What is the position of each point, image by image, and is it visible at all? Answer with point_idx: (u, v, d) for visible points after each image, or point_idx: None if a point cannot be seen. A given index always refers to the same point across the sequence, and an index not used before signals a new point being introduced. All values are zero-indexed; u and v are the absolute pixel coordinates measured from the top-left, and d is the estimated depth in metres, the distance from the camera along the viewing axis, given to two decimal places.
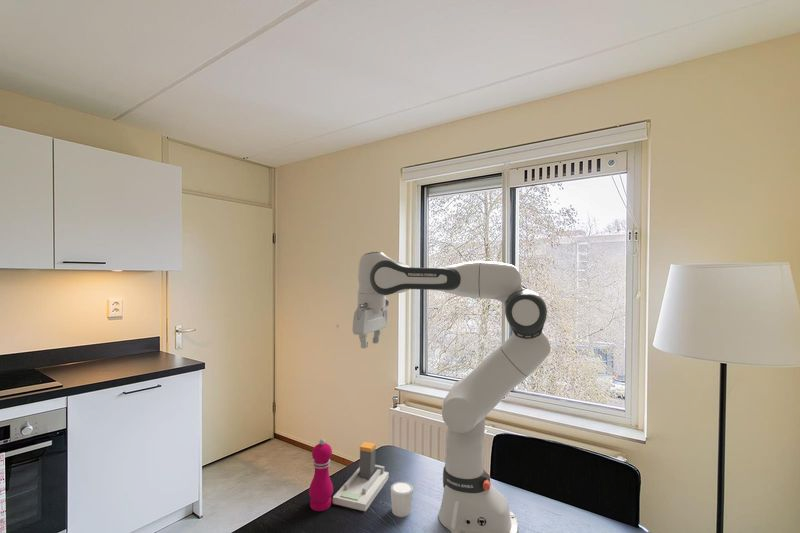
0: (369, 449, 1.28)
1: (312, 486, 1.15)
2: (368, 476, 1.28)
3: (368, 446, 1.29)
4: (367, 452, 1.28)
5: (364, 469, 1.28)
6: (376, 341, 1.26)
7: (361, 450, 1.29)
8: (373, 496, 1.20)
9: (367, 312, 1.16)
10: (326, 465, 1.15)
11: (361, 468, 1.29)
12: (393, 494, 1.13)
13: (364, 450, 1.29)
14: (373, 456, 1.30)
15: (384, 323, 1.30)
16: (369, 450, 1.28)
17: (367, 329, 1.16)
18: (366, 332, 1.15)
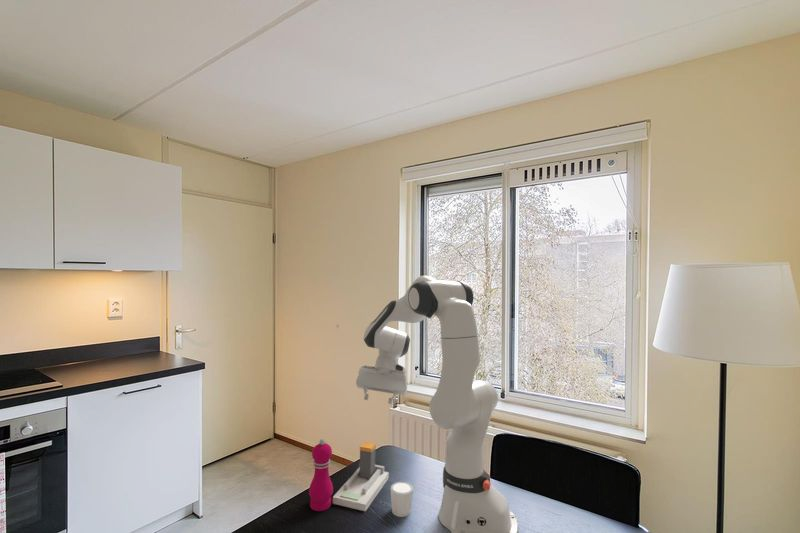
0: (369, 449, 1.28)
1: (312, 486, 1.15)
2: (368, 476, 1.28)
3: (368, 446, 1.29)
4: (367, 452, 1.28)
5: (364, 469, 1.28)
6: None
7: (361, 450, 1.29)
8: (373, 496, 1.20)
9: (366, 369, 1.53)
10: (326, 465, 1.15)
11: (361, 468, 1.29)
12: (393, 494, 1.13)
13: (364, 450, 1.29)
14: (373, 456, 1.30)
15: (400, 387, 1.47)
16: (369, 450, 1.28)
17: (364, 382, 1.49)
18: (362, 383, 1.49)
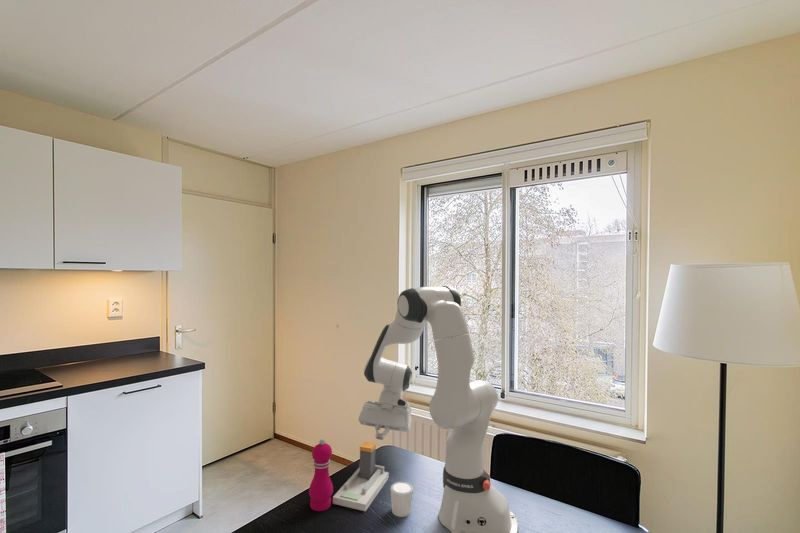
0: (369, 449, 1.28)
1: (312, 486, 1.15)
2: (368, 476, 1.28)
3: (368, 446, 1.29)
4: (367, 452, 1.28)
5: (364, 469, 1.28)
6: None
7: (361, 450, 1.29)
8: (373, 496, 1.20)
9: (369, 405, 1.49)
10: (326, 465, 1.15)
11: (361, 468, 1.29)
12: (393, 494, 1.13)
13: (364, 450, 1.29)
14: (373, 456, 1.30)
15: (402, 423, 1.41)
16: (369, 450, 1.28)
17: (366, 418, 1.45)
18: (364, 420, 1.45)
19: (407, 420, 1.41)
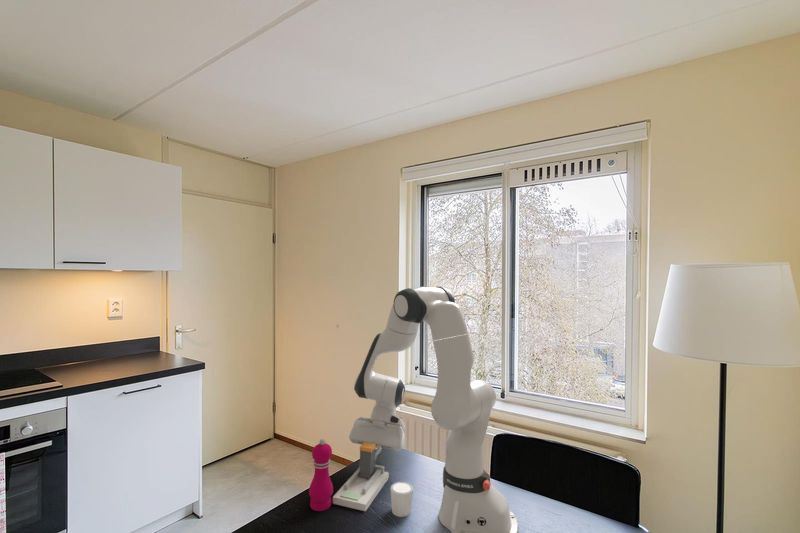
0: (369, 449, 1.28)
1: (312, 486, 1.15)
2: (368, 476, 1.28)
3: (368, 446, 1.29)
4: (367, 452, 1.28)
5: (364, 469, 1.28)
6: None
7: (361, 450, 1.29)
8: (373, 496, 1.20)
9: (360, 421, 1.42)
10: (326, 465, 1.15)
11: (361, 468, 1.29)
12: (393, 494, 1.13)
13: (364, 450, 1.29)
14: (373, 456, 1.30)
15: (395, 441, 1.34)
16: (369, 450, 1.28)
17: (357, 436, 1.38)
18: (355, 438, 1.38)
19: (400, 438, 1.34)
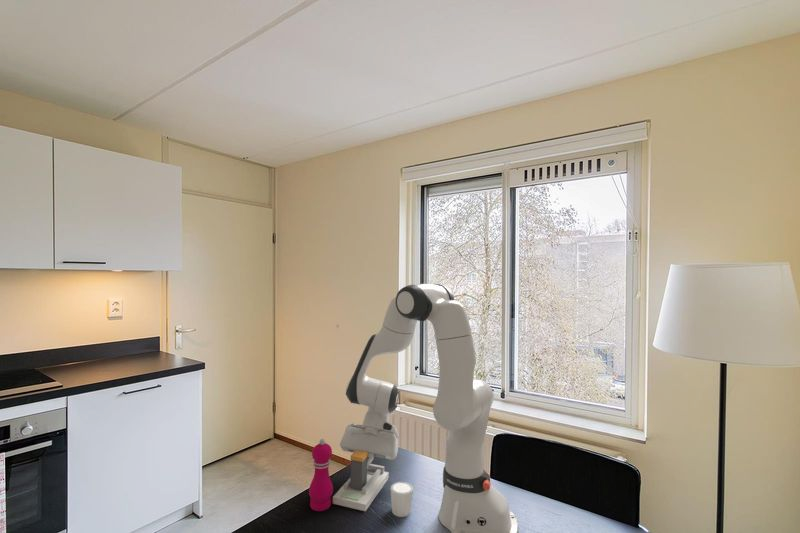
0: (360, 458, 1.21)
1: (312, 486, 1.15)
2: (359, 487, 1.21)
3: (359, 455, 1.23)
4: (358, 462, 1.22)
5: (355, 480, 1.22)
6: None
7: (352, 459, 1.22)
8: (373, 496, 1.20)
9: (352, 428, 1.35)
10: (326, 465, 1.15)
11: (352, 478, 1.22)
12: (393, 494, 1.13)
13: (355, 459, 1.22)
14: (365, 466, 1.23)
15: (387, 450, 1.27)
16: (360, 459, 1.21)
17: (349, 444, 1.31)
18: (346, 446, 1.31)
19: (393, 447, 1.27)
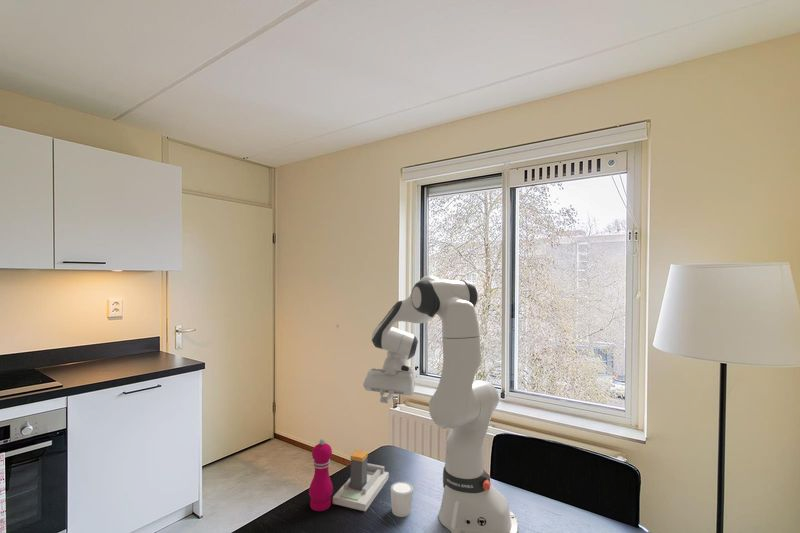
0: (360, 458, 1.21)
1: (312, 486, 1.15)
2: (359, 487, 1.21)
3: (359, 455, 1.23)
4: (358, 462, 1.22)
5: (355, 480, 1.22)
6: None
7: (352, 459, 1.22)
8: (373, 496, 1.20)
9: (373, 371, 1.54)
10: (326, 465, 1.15)
11: (352, 478, 1.22)
12: (393, 494, 1.13)
13: (355, 459, 1.22)
14: (365, 466, 1.23)
15: (405, 387, 1.46)
16: (360, 459, 1.21)
17: (371, 384, 1.50)
18: (368, 385, 1.50)
19: (411, 384, 1.46)
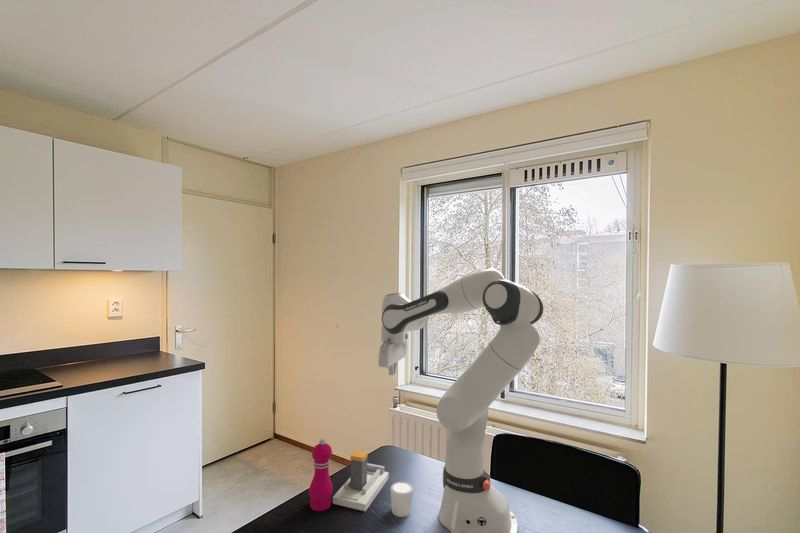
0: (360, 458, 1.21)
1: (312, 486, 1.15)
2: (359, 487, 1.21)
3: (359, 455, 1.23)
4: (358, 462, 1.22)
5: (355, 480, 1.22)
6: None
7: (352, 459, 1.22)
8: (373, 496, 1.20)
9: (390, 347, 1.34)
10: (326, 465, 1.15)
11: (352, 478, 1.22)
12: (393, 494, 1.13)
13: (355, 459, 1.22)
14: (365, 466, 1.23)
15: (403, 353, 1.48)
16: (360, 459, 1.21)
17: (391, 362, 1.35)
18: (390, 364, 1.34)
19: (405, 350, 1.50)
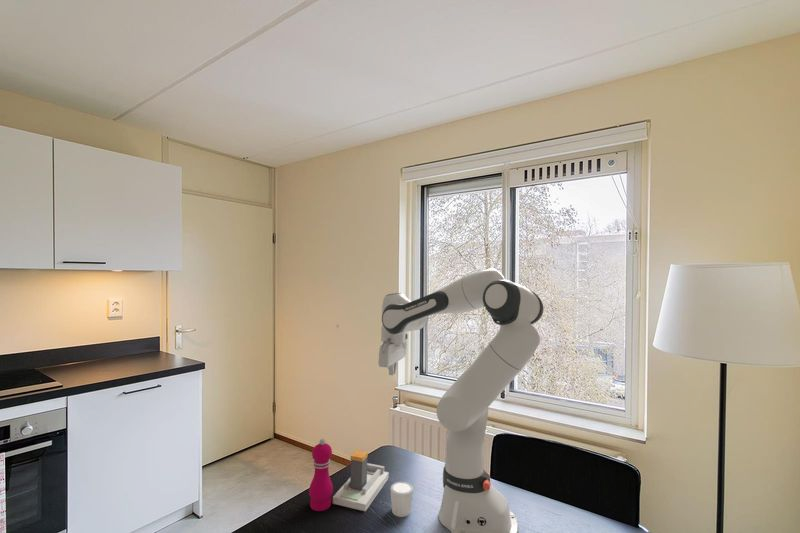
0: (360, 458, 1.21)
1: (312, 486, 1.15)
2: (359, 487, 1.21)
3: (359, 455, 1.23)
4: (358, 462, 1.22)
5: (355, 480, 1.22)
6: None
7: (352, 459, 1.22)
8: (373, 496, 1.20)
9: (390, 347, 1.34)
10: (326, 465, 1.15)
11: (352, 478, 1.22)
12: (393, 494, 1.13)
13: (355, 459, 1.22)
14: (365, 466, 1.23)
15: (403, 353, 1.48)
16: (360, 459, 1.21)
17: (391, 362, 1.35)
18: (390, 364, 1.34)
19: (405, 350, 1.50)
